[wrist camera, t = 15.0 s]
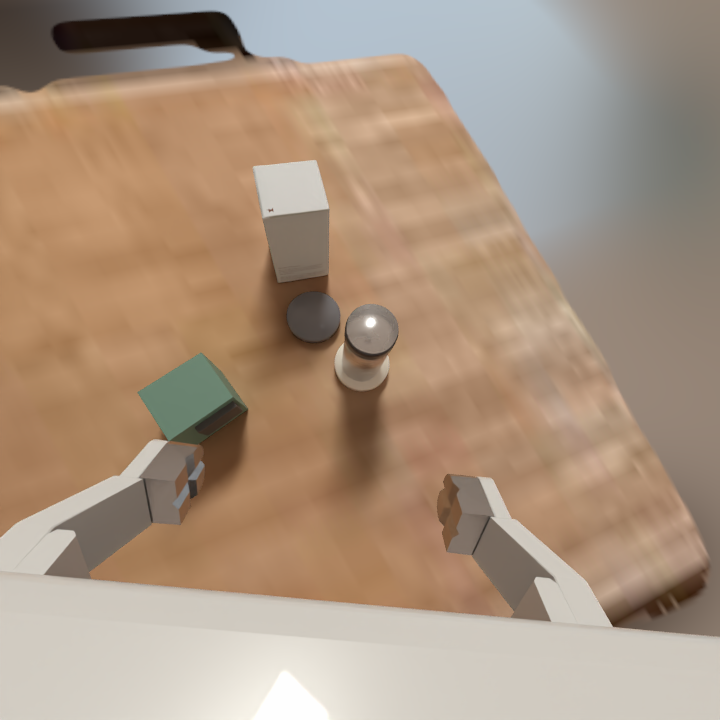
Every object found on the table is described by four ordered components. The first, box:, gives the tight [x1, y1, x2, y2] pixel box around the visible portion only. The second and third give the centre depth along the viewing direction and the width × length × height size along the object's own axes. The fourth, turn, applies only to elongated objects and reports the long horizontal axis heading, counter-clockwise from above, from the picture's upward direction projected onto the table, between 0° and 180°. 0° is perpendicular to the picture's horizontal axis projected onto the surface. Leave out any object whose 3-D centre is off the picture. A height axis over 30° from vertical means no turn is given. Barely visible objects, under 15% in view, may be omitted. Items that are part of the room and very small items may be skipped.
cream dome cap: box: [335, 344, 389, 392], centre depth 43 cm, size 7×7×1 cm
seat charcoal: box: [287, 292, 340, 343], centre depth 44 cm, size 7×7×1 cm
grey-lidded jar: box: [342, 304, 398, 382], centre depth 37 cm, size 5×5×11 cm
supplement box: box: [253, 160, 329, 283], centre depth 42 cm, size 7×7×13 cm
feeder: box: [138, 353, 248, 445], centre depth 37 cm, size 7×7×7 cm
